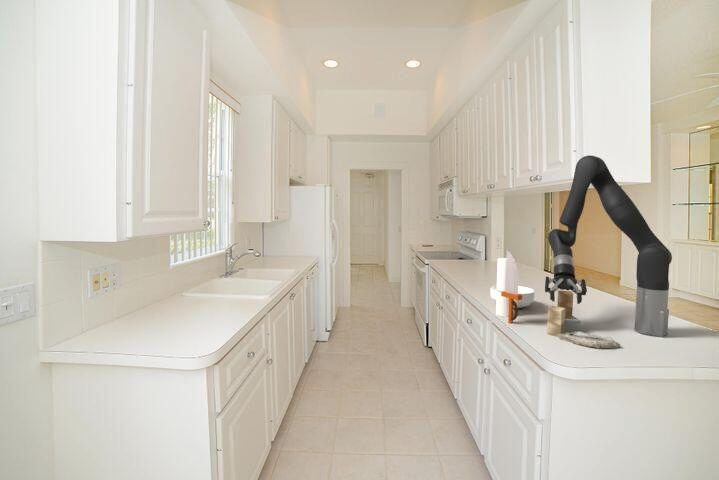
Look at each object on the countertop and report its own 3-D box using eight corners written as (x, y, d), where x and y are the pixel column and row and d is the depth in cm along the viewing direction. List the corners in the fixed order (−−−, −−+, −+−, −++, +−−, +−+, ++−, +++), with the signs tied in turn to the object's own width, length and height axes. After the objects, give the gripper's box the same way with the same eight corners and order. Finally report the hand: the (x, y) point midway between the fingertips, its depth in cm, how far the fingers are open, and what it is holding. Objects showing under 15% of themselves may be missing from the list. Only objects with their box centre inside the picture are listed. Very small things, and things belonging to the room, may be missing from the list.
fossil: (557, 342, 125) (557, 334, 125) (561, 333, 133) (561, 326, 132) (620, 356, 114) (620, 347, 114) (620, 345, 122) (621, 337, 122)
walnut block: (569, 316, 139) (571, 291, 138) (572, 319, 135) (573, 293, 134) (557, 314, 141) (558, 290, 140) (558, 318, 137) (559, 292, 136)
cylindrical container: (514, 317, 154) (516, 260, 151) (497, 316, 155) (499, 260, 153) (511, 312, 160) (512, 258, 158) (494, 311, 162) (496, 257, 160)
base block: (569, 326, 142) (570, 314, 141) (580, 333, 134) (580, 320, 133) (549, 325, 143) (549, 313, 142) (557, 332, 135) (558, 319, 134)
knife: (500, 320, 149) (502, 250, 147) (504, 319, 150) (506, 249, 148) (516, 325, 142) (519, 252, 139) (521, 325, 143) (523, 251, 141)
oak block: (564, 334, 132) (565, 308, 131) (560, 337, 129) (561, 310, 128) (550, 331, 135) (552, 305, 135) (547, 334, 132) (548, 308, 131)
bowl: (543, 310, 165) (544, 292, 164) (506, 313, 160) (507, 294, 159) (515, 299, 184) (516, 284, 183) (482, 302, 179) (482, 285, 178)
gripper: (545, 261, 146) (546, 294, 136) (585, 263, 140) (589, 298, 131) (543, 272, 151) (544, 304, 142) (582, 274, 145) (586, 308, 136)
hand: (566, 301), depth 136 cm, fingers open, 8 cm apart
